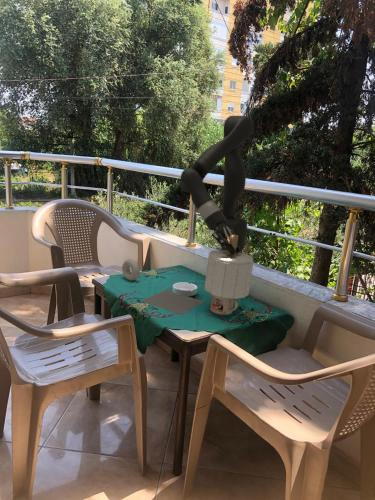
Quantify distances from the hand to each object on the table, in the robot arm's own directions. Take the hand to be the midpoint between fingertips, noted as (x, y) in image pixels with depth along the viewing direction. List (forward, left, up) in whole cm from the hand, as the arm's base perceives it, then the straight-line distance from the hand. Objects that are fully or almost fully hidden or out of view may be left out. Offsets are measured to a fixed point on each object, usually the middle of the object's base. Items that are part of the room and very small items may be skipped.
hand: (236, 253), depth 152 cm
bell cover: (0, -2, -15) cm, 16 cm away
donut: (-2, -51, -25) cm, 57 cm away
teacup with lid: (0, -2, -25) cm, 25 cm away
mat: (+6, -22, -25) cm, 33 cm away
